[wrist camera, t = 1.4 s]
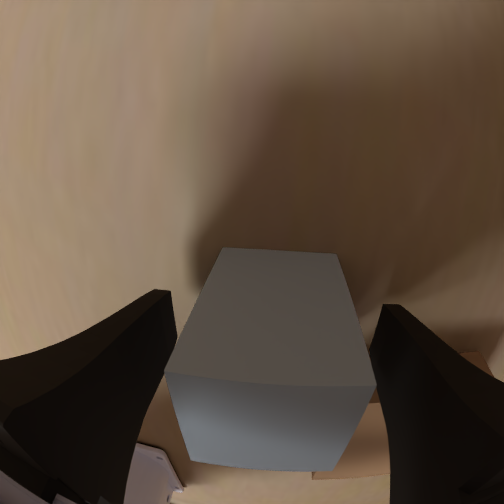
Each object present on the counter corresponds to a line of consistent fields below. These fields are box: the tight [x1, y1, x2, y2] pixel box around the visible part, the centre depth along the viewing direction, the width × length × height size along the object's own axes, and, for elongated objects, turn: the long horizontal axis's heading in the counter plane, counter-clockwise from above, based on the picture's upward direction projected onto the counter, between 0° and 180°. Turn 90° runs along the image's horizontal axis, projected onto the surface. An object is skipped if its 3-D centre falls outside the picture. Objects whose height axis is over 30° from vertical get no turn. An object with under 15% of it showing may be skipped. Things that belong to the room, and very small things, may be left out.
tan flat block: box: [312, 351, 494, 480], centre depth 12 cm, size 8×8×3 cm
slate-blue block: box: [164, 247, 377, 472], centre depth 9 cm, size 4×4×6 cm
